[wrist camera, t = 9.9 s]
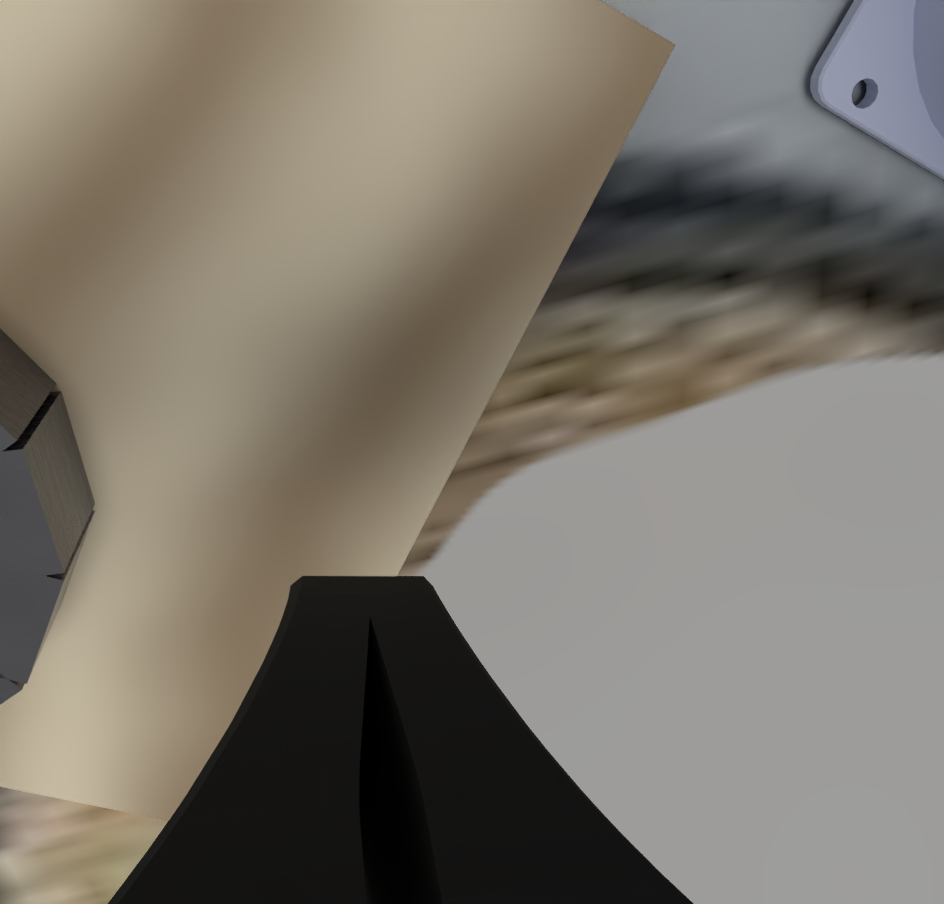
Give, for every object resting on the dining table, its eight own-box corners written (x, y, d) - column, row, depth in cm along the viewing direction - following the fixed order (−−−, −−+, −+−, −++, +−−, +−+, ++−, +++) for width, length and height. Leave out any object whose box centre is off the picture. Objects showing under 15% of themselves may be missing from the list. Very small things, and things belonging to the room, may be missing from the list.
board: (652, 42, 16) (675, 45, 15) (261, 801, 23) (258, 839, 22) (-396, -575, 11) (-470, -635, 10) (-497, 635, 18) (-548, 674, 17)
